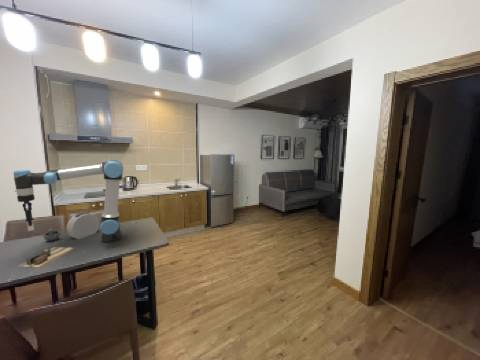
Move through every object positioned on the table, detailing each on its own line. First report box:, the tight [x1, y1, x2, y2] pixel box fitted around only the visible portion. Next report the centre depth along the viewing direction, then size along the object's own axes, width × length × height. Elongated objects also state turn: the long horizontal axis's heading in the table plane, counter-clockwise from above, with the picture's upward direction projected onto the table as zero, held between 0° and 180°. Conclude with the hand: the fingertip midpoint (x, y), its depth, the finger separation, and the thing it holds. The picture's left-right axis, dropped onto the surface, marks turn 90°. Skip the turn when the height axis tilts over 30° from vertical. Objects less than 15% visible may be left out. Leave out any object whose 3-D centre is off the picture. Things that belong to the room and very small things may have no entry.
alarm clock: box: [65, 211, 100, 240], centre depth 173 cm, size 21×8×20 cm, turn 159°
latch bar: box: [25, 248, 51, 264], centre depth 134 cm, size 13×4×4 cm, turn 175°
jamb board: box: [18, 246, 76, 268], centre depth 138 cm, size 16×25×5 cm, turn 179°
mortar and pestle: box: [43, 228, 61, 243], centre depth 161 cm, size 11×9×12 cm
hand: (31, 230), depth 135 cm, fingers closed
